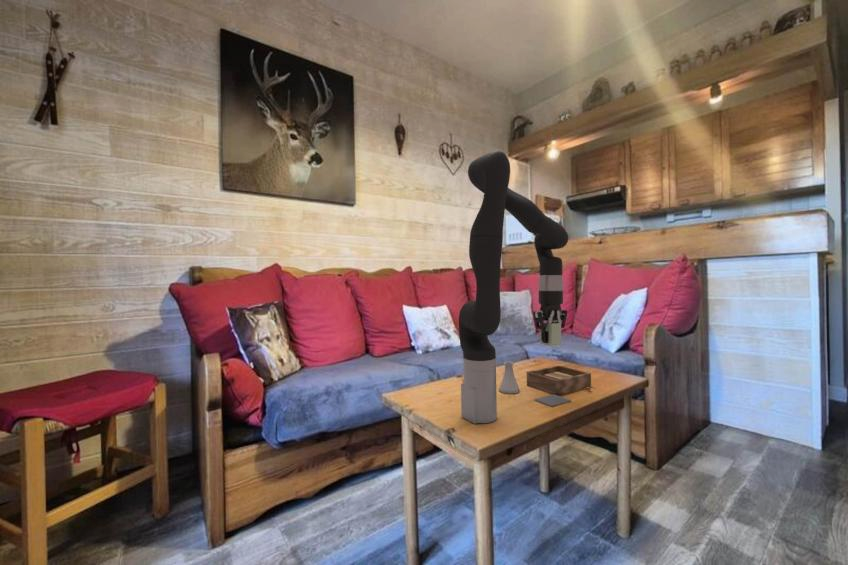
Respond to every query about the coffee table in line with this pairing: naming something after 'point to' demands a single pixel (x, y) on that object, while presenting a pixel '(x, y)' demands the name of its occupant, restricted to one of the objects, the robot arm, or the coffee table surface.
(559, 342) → the block
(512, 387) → the flask
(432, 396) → the coffee table surface
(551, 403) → the pad
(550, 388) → the crate
